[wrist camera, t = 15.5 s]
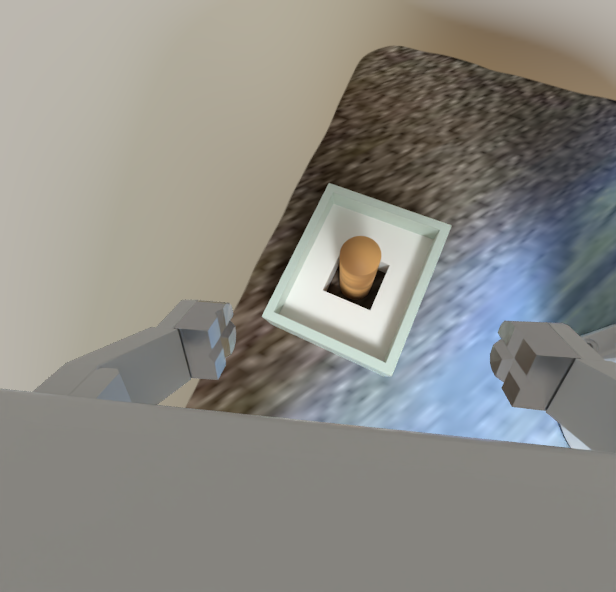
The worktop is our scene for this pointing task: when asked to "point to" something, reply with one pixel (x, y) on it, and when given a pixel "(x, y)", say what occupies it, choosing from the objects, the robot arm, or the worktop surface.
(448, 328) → the worktop surface
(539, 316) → the worktop surface
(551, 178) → the worktop surface
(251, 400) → the worktop surface
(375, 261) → the peg
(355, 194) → the bore box
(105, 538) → the robot arm
